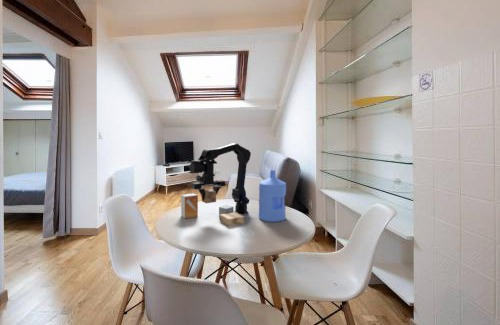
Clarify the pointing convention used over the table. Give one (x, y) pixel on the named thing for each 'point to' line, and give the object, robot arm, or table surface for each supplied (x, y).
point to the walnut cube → (209, 196)
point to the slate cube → (225, 209)
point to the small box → (189, 205)
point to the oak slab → (231, 218)
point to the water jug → (272, 199)
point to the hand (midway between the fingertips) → (208, 199)
